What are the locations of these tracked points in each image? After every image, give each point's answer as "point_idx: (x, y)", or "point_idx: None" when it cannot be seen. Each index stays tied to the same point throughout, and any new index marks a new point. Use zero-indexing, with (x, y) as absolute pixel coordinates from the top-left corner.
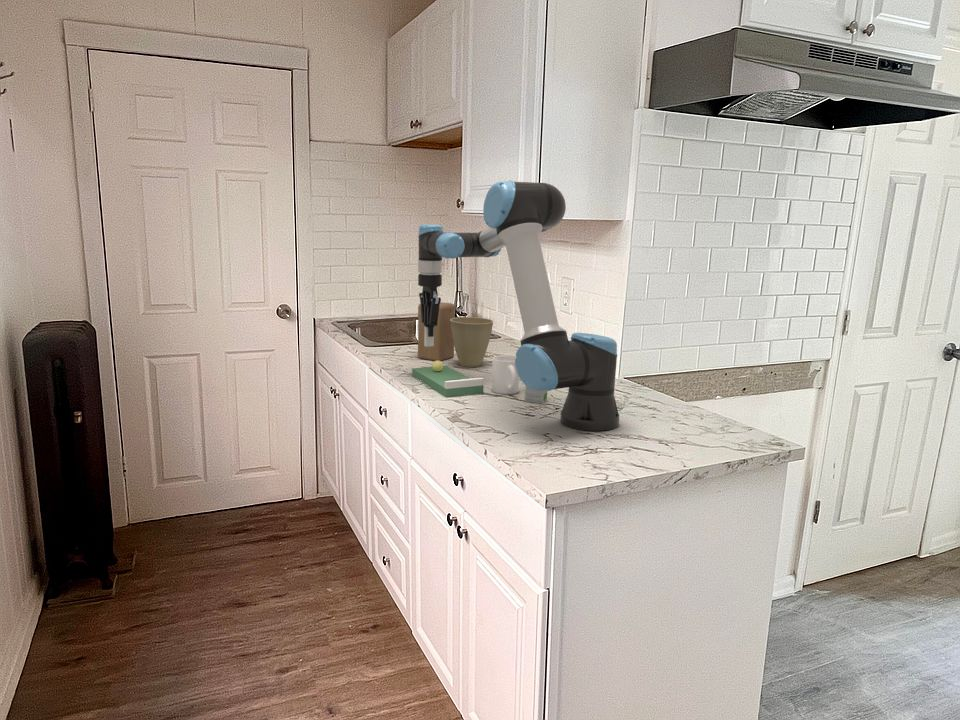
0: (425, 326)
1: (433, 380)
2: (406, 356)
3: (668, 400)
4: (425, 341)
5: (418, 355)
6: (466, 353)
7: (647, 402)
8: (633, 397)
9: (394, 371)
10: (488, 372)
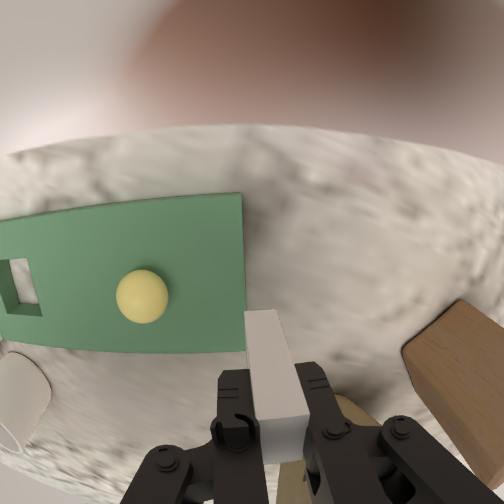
0: (224, 417)
1: (26, 222)
2: (484, 271)
3: (36, 478)
4: (259, 328)
5: (462, 302)
6: None
7: (22, 463)
8: (39, 470)
9: (339, 149)
10: None
